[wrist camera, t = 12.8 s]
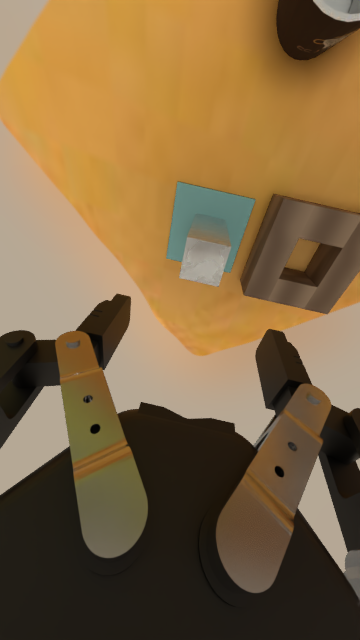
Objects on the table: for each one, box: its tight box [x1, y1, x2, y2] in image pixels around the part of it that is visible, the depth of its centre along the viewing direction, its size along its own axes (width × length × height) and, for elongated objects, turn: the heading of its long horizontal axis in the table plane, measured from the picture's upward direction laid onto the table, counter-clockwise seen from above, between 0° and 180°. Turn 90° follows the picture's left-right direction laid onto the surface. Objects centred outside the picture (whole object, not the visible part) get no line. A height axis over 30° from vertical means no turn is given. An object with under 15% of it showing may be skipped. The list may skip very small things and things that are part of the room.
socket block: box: [240, 194, 360, 314], centre depth 28 cm, size 12×12×5 cm
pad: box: [166, 182, 255, 273], centre depth 30 cm, size 10×10×1 cm
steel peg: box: [179, 213, 231, 287], centre depth 25 cm, size 4×4×12 cm
